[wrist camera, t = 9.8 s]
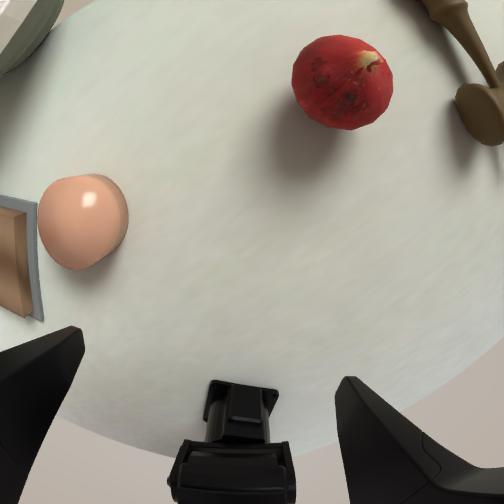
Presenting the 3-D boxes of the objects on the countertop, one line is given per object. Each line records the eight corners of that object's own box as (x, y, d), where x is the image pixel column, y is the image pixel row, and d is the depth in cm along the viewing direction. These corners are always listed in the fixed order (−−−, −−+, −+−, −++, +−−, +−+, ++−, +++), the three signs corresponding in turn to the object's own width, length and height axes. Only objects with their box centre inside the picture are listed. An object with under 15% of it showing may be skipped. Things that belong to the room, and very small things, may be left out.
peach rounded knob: (124, 262, 20) (105, 279, 17) (62, 245, 20) (38, 258, 17) (134, 180, 18) (112, 184, 15) (66, 169, 18) (40, 173, 15)
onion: (345, 149, 18) (402, 145, 10) (270, 111, 17) (284, 76, 10) (374, 85, 16) (435, 54, 9) (304, 46, 16) (333, -11, 8)
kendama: (429, -20, 12) (524, 145, 17) (367, -8, 14) (481, 183, 19) (456, -44, 6) (562, 149, 11) (391, -42, 8) (525, 193, 13)
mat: (44, 318, 22) (41, 321, 22) (-6, 294, 22) (-9, 296, 21) (37, 202, 19) (33, 203, 18) (-14, 191, 18) (-18, 192, 18)
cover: (34, 309, 21) (24, 317, 20) (-5, 290, 21) (-15, 297, 19) (26, 212, 18) (13, 216, 17) (-13, 202, 18) (-25, 206, 16)
